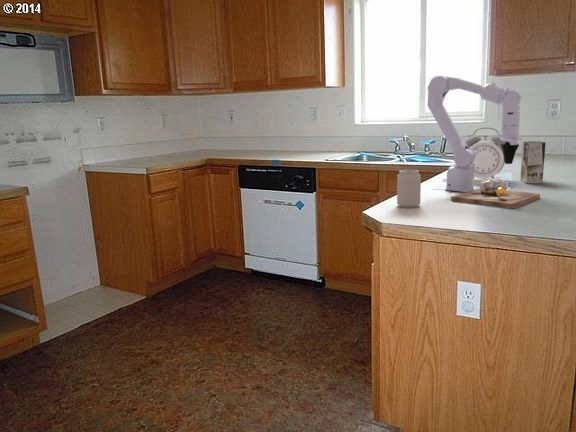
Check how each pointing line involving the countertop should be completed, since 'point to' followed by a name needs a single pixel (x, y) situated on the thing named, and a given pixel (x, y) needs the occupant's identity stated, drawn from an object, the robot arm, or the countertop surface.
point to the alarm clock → (486, 155)
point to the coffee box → (532, 161)
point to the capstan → (491, 186)
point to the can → (408, 188)
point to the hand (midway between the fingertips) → (508, 163)
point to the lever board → (496, 198)
